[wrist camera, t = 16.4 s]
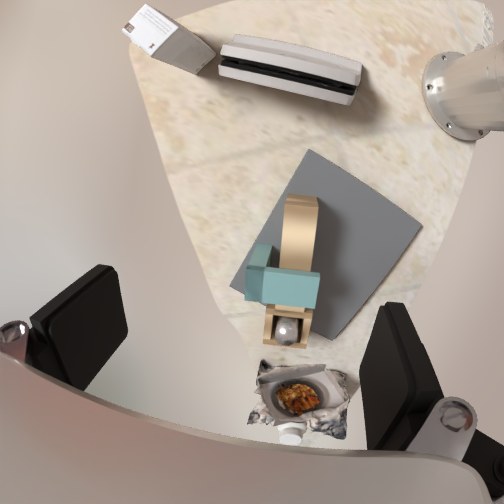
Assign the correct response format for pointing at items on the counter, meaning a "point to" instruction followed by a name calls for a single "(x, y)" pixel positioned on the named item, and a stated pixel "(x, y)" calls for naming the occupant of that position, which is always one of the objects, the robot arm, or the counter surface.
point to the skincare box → (168, 40)
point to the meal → (302, 398)
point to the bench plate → (340, 240)
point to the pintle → (286, 330)
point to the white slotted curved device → (291, 68)
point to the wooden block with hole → (295, 263)
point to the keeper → (278, 282)
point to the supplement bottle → (291, 433)
